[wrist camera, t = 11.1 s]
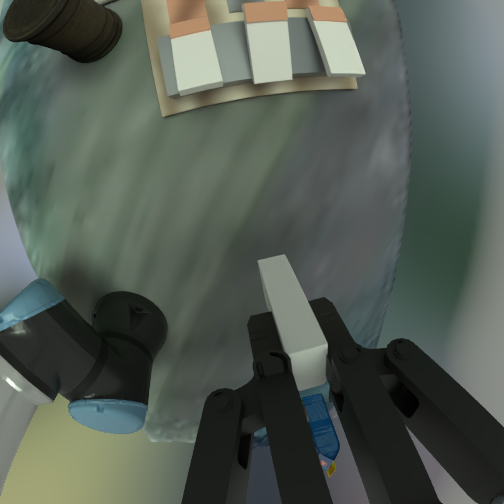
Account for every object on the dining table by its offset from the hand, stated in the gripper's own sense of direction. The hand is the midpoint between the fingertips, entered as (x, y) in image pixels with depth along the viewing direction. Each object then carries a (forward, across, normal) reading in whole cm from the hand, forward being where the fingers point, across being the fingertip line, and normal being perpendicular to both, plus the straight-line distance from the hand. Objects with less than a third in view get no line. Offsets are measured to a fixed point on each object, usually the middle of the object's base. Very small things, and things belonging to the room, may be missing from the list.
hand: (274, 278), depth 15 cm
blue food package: (+27, +8, -69) cm, 74 cm away
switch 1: (+19, -2, +16) cm, 25 cm away
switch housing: (+25, +6, +17) cm, 31 cm away
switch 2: (+19, +14, +17) cm, 29 cm away
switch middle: (+19, +6, +18) cm, 27 cm away
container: (+27, -16, +28) cm, 42 cm away
